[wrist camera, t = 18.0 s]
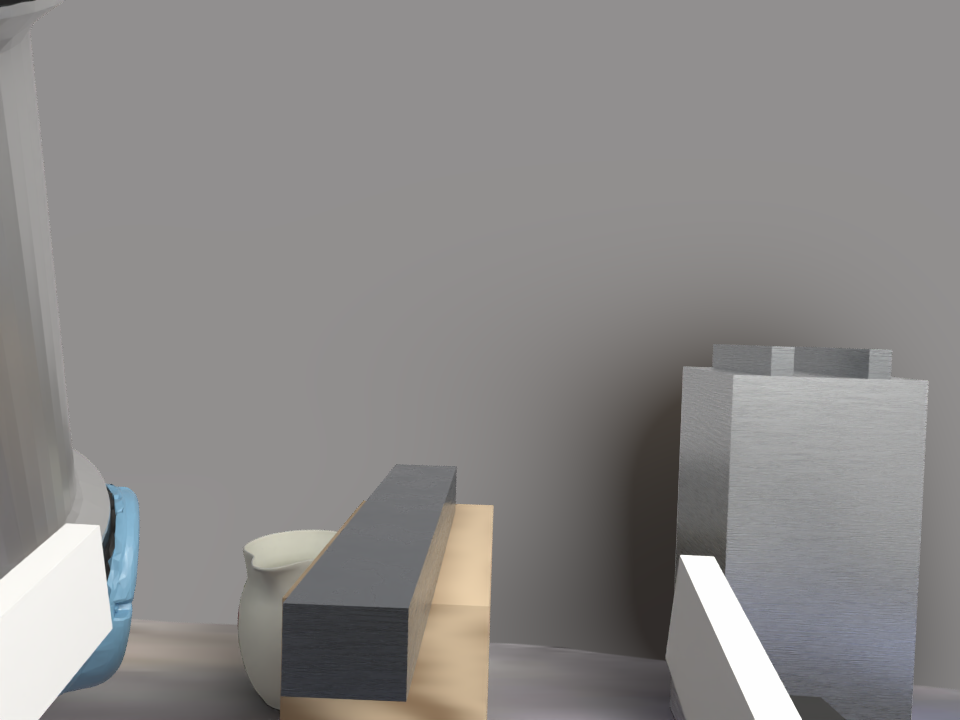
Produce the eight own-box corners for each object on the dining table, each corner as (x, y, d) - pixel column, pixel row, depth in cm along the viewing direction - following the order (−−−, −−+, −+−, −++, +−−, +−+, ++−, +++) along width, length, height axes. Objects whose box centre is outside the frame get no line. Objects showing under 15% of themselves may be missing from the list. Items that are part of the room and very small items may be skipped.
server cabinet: (715, 807, 48) (734, 345, 47) (669, 707, 61) (684, 343, 60) (909, 816, 48) (933, 351, 47) (822, 714, 61) (839, 347, 60)
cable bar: (281, 696, 22) (282, 603, 22) (395, 509, 46) (396, 464, 46) (406, 701, 22) (408, 608, 22) (455, 511, 46) (456, 466, 46)
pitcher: (393, 649, 71) (396, 515, 71) (324, 751, 53) (328, 574, 53) (292, 638, 73) (295, 507, 73) (193, 733, 55) (196, 562, 55)
